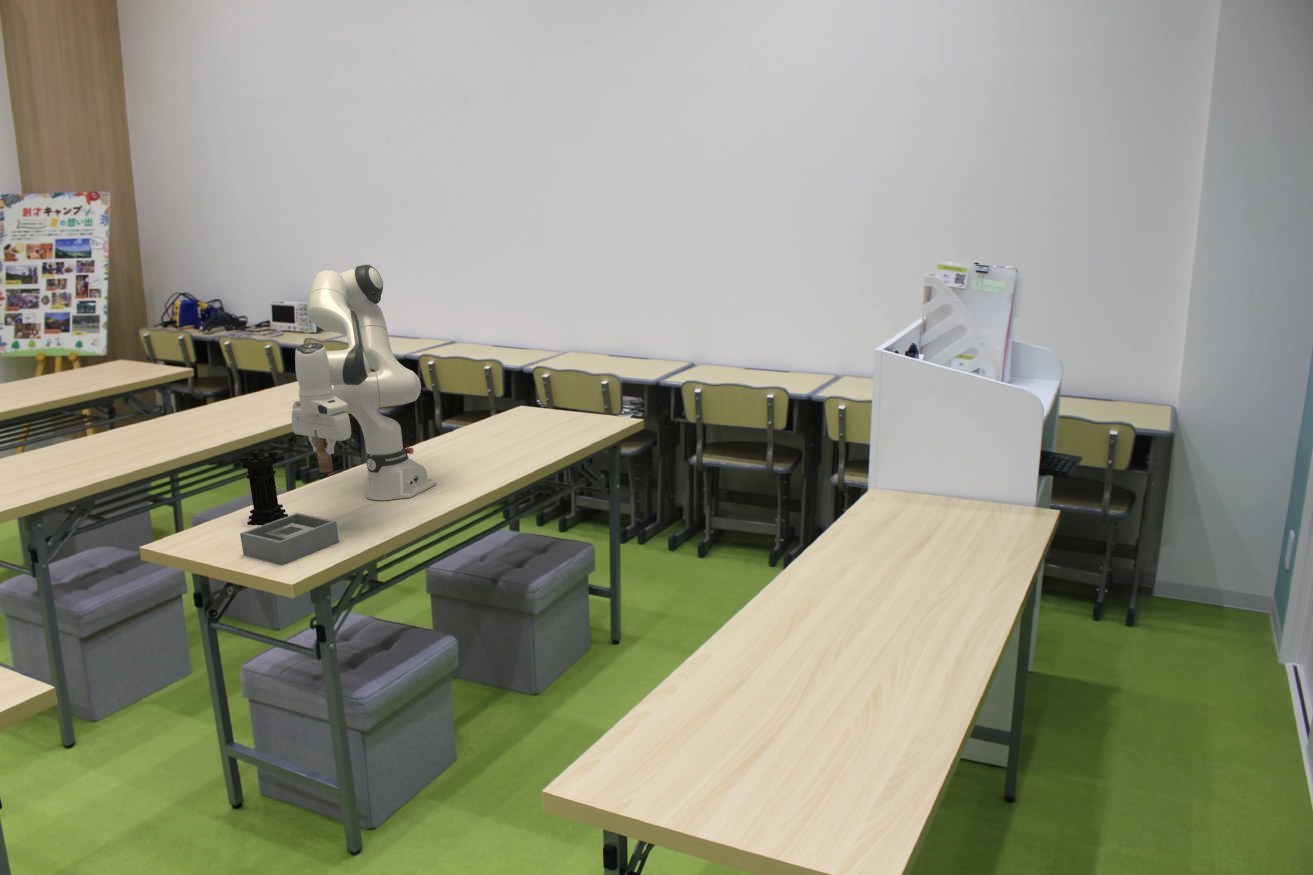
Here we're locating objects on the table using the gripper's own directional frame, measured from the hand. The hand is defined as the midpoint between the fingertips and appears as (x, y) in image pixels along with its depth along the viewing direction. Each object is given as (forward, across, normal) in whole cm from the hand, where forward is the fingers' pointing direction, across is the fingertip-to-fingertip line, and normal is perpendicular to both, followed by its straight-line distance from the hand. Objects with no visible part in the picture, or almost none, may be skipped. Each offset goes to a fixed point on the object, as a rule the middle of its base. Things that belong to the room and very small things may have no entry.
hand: (324, 452), depth 258 cm
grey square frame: (+21, +1, -15) cm, 26 cm away
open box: (+22, +1, -15) cm, 27 cm away
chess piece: (+23, -25, -3) cm, 34 cm away
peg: (+5, 0, 0) cm, 5 cm away
